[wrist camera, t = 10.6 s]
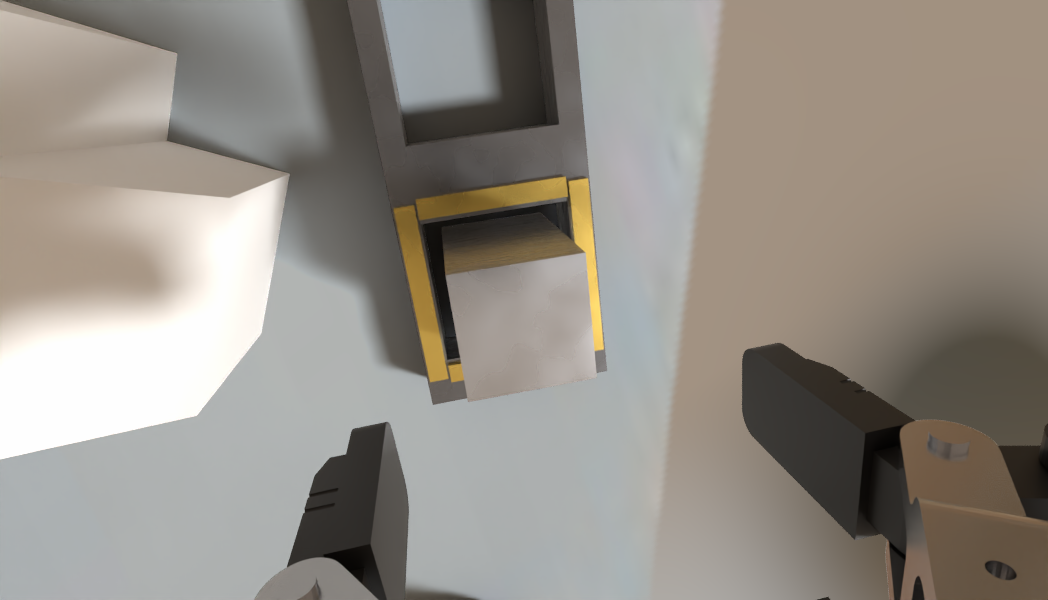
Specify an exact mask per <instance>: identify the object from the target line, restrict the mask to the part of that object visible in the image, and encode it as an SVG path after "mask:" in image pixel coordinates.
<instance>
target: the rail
mask: <svg viewBox="0 0 1048 600" xmlns="http://www.w3.org/2000/svg"><path fill="white" fill-rule="evenodd" d="M347 3H348V8H349V13H350V17H351V22H352V27H353V32H354V36H355V41H356V46H357V50H358V55H359V60H360V64H361V69H362V74H363V79H364V83H365V88H366V93H367V97H368V102H369V107H370V111H371V116H372V121H373V125H374V130H375V135H376V140H377V144H378V149H379V154H380V158H381V163H382V168H383V172H384V177H385V182H386V187H387V191H388V196H389V201H390V205H391V210H392V215H393V219H394V224H395V229H396V233H397V238H398V243H399V248H400V252H401V257H402V262H403V266H404V271H405V276H406V280H407V285H408V290H409V295H410V299H411V304H412V309H413V313H414V318H415V323H416V327H417V332H418V337H419V341H420V346H421V351H422V356H423V360H424V365H425V370H426V374H427V379H428V384H429V388H430V393H431V398H432V403H433V405H434V404H439V403H444V402H450V401H455V400H460V399H465V398H467V393H466V388H465V382H464V376H463V371H462V365H461V360H460V354H459V348H458V343H457V337H451V338H446V335H445V330H444V325H443V320H442V315H441V310H440V305H439V299H438V294H437V289H436V284H435V279H434V274H433V269H432V264H431V258H430V253H429V248H428V243H427V238H426V233H425V228H424V224H426V223H432V222H438V221H444V220H450V219H457V218H463V217H469V216H475V215H482V214H488V213H494V212H500V211H507V210H513V209H519V208H525V207H532V206H538V205H544V204H550V203H556V209H557V218H558V227H559V229H560V230H561V231H562V232H563V233H564V234H565V235H566V236H568V237H569V238H570V239H571V240H572V241H573V242H574V243H575V244H577V245H578V246H579V247H580V248H581V249H582V250H583V251H584V252H586V261H587V273H588V284H589V295H590V306H591V317H592V329H593V340H594V351H595V362H596V373H598V372H604V371H607V366H606V355H605V345H604V334H603V323H602V312H601V301H600V290H599V279H598V268H597V257H596V246H595V235H594V224H593V213H592V202H591V192H590V181H589V170H588V159H587V148H586V137H585V126H584V115H583V104H582V93H581V82H580V71H579V60H578V49H577V39H576V28H575V17H574V6H573V0H533V5H534V14H535V23H536V32H537V41H538V50H539V59H540V67H541V76H542V85H543V94H544V103H545V112H546V120H547V124H541V125H534V126H527V127H520V128H513V129H506V130H500V131H493V132H486V133H479V134H472V135H465V136H458V137H451V138H444V139H437V140H431V141H424V142H417V143H410V144H408V141H407V135H406V130H405V125H404V120H403V115H402V110H401V105H400V100H399V94H398V89H397V84H396V79H395V74H394V69H393V64H392V59H391V53H390V48H389V43H388V38H387V33H386V28H385V23H384V18H383V12H382V7H381V2H380V0H347Z"/></svg>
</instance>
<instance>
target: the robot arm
mask: <svg viewBox="0 0 1048 600" xmlns="http://www.w3.org/2000/svg"><path fill="white" fill-rule="evenodd" d="M742 412H743V417H744V421H745V424H746V426H747V428H748V430H749V432H750V434H751V435H752V436H753V437H754V438H755V439H756V440H757V441H758V442H759V443H760V444H761V445H762V446H763V447H764V449H765V450H766V451H767V452H768V453H769V454H770V455H771V456H772V457H773V458H775V460H776V461H777V462H778V463H779V464H780V465H781V466H782V467H784V469H785V470H786V471H787V472H788V473H789V474H790V475H791V476H792V477H793V478H794V479H795V480H796V481H797V482H798V483H799V484H800V485H801V486H802V487H803V488H804V489H805V490H806V491H807V492H808V493H809V494H810V495H811V496H812V497H813V498H814V499H815V500H816V501H817V502H818V503H819V504H820V505H821V506H822V507H823V508H824V509H825V510H826V511H827V512H828V513H829V514H830V515H831V516H832V517H833V518H834V519H835V520H836V521H837V522H838V523H839V524H840V525H841V526H842V527H843V528H844V529H845V530H846V531H847V532H848V533H849V534H850V535H851V537H852V538H854V540H858V539H862V538H866V537H870V536H874V535H878V534H882V535H883V536H885V538H887V544H886V554H885V556H886V567H887V577H888V590H889V600H1048V424H1047V425H1046V426H1045V429H1044V432H1043V437H1042V442H1041V446H998V445H997V444H996V443H995V442H994V441H993V440H992V439H991V438H989V437H988V436H986V435H984V434H983V433H981V432H979V431H977V430H975V429H973V428H970V427H968V426H964V425H961V424H958V423H954V422H949V421H942V420H918V421H915V420H914V419H912V418H910V417H909V416H907V415H906V414H904V413H903V412H901V411H899V410H898V409H896V408H895V407H893V406H892V405H890V404H888V403H887V402H885V401H884V400H882V399H881V398H879V397H878V396H876V395H874V394H873V393H871V392H870V391H867V392H866V390H865V388H864V387H862V386H861V385H859V384H857V383H856V382H854V381H853V382H851V380H850V378H848V377H847V376H845V375H843V374H842V373H840V372H838V371H837V370H836V369H834V368H832V367H830V366H827V365H824V364H821V363H818V362H815V361H812V360H809V359H805V358H803V357H802V356H800V355H799V354H797V353H796V352H794V351H793V350H791V349H790V348H788V347H787V346H785V345H784V344H781V343H775V344H771V345H766V346H761V347H756V348H751V349H747V350H746V351H745V352H744V355H743V361H742ZM309 496H310V498H308V500H307V503H306V506H305V513H303V516H302V519H301V523H300V526H299V529H298V532H297V536H296V539H295V542H294V546H293V549H292V552H291V555H290V559H289V562H288V565H287V568H285V569H284V570H282V571H280V572H279V573H278V574H276V575H275V576H274V577H272V578H271V579H270V580H269V581H268V582H267V583H266V584H265V585H264V586H263V587H262V589H261V590H260V591H259V593H258V594H257V596H256V597H255V599H254V600H405V582H406V560H407V538H408V516H409V506H408V495H407V489H406V484H405V479H404V475H403V472H402V468H401V464H400V460H399V456H398V452H397V448H396V444H395V440H394V436H393V432H392V429H391V426H390V424H389V423H388V422H384V423H380V424H375V425H370V426H365V427H360V428H355V429H353V430H352V432H351V436H350V440H349V444H348V449H347V453H346V455H341V456H337V457H332V458H329V460H328V461H327V462H326V463H325V464H324V465H323V467H322V468H321V469H320V470H319V471H318V473H317V474H316V475H315V477H314V480H313V483H312V487H311V490H310V493H309ZM818 600H830V599H829V598H828V597H826V598H822V599H818Z"/></svg>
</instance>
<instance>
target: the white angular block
mask: <svg viewBox="0 0 1048 600" xmlns="http://www.w3.org/2000/svg"><path fill="white" fill-rule="evenodd" d="M176 62H177V53H174V52H171V51H167V50H164V49H161V48H158V47H154V46H151V45H148V44H144V43H141V42H138V41H134V40H131V39H128V38H125V37H121V36H118V35H115V34H111V33H108V32H105V31H101V30H98V29H95V28H92V27H88V26H85V25H82V24H78V23H75V22H72V21H68V20H65V19H62V18H59V17H55V16H52V15H49V14H45V13H42V12H39V11H35V10H32V9H29V8H26V7H22V6H19V5H16V4H12V3H9V2H6V1H2V0H0V459H3V458H8V457H12V456H17V455H21V454H26V453H30V452H35V451H39V450H44V449H48V448H53V447H57V446H62V445H67V444H71V443H76V442H80V441H85V440H89V439H94V438H98V437H103V436H107V435H112V434H116V433H121V432H125V431H130V430H134V429H139V428H143V427H148V426H152V425H157V424H161V423H166V422H171V421H175V420H180V419H184V418H189V417H193V416H197V415H198V413H199V412H200V411H201V409H202V408H203V407H204V406H205V404H206V403H207V402H208V401H209V399H210V398H211V397H212V395H213V394H214V393H215V392H216V390H217V389H218V388H219V387H220V385H221V384H222V383H223V382H224V380H225V379H226V378H227V376H228V375H229V374H230V373H231V371H232V370H233V369H234V368H235V366H236V365H237V364H238V362H239V361H240V360H241V359H242V357H243V356H244V355H245V354H246V352H247V351H248V350H249V349H250V347H251V346H252V345H253V343H254V342H255V341H256V340H257V338H258V337H259V336H260V335H261V332H262V327H263V321H264V315H265V310H266V304H267V299H268V293H269V288H270V282H271V276H272V271H273V265H274V260H275V254H276V249H277V243H278V237H279V232H280V226H281V221H282V215H283V209H284V204H285V198H286V193H287V187H288V182H289V176H290V174H289V173H285V172H282V171H278V170H274V169H270V168H267V167H263V166H259V165H256V164H252V163H248V162H244V161H241V160H237V159H233V158H229V157H226V156H222V155H218V154H215V153H211V152H207V151H203V150H200V149H196V148H192V147H188V146H185V145H181V144H177V143H174V142H170V141H167V137H168V129H169V121H170V112H171V104H172V95H173V87H174V78H175V70H176Z"/></svg>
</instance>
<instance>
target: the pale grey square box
mask: <svg viewBox="0 0 1048 600" xmlns="http://www.w3.org/2000/svg"><path fill="white" fill-rule="evenodd" d="M442 239H443V251H444V263H445V275H446V281H447V287H448V292H449V298H450V303H451V309H452V315H453V320H454V326H455V331H456V337H457V343H458V348H459V354H460V360H461V365H462V371H463V376H464V382H465V388H466V393H467V399H468V402H471V401H476V400H482V399H487V398H492V397H498V396H503V395H508V394H514V393H519V392H524V391H530V390H535V389H540V388H546V387H551V386H556V385H562V384H567V383H572V382H578V381H583V380H588V379H594V378H597V374H596V362H595V351H594V340H593V329H592V317H591V306H590V295H589V284H588V273H587V261H586V252H584V251H583V250H582V249H581V248H580V247H579V246H578V245H577V244H575V243H574V242H573V241H572V240H571V239H570V238H569V237H568V236H566V235H565V234H564V233H563V232H562V231H561V230H560V229H559V228H557V227H556V226H555V225H554V224H553V223H552V222H551V221H550V220H548V219H547V218H546V217H545V216H544V215H543V214H542V213H541V212H537V213H531V214H524V215H518V216H511V217H504V218H498V219H491V220H485V221H478V222H472V223H465V224H459V225H452V226H446V227H442Z"/></svg>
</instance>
